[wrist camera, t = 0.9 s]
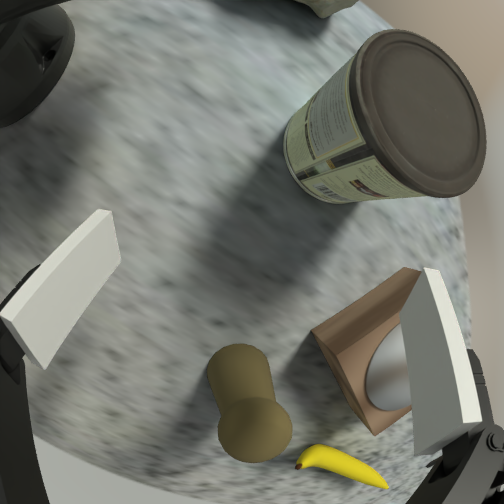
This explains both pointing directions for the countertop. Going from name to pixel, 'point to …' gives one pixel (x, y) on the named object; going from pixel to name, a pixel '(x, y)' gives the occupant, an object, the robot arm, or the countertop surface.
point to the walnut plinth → (372, 352)
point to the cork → (247, 405)
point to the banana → (340, 465)
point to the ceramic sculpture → (328, 6)
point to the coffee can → (389, 126)
